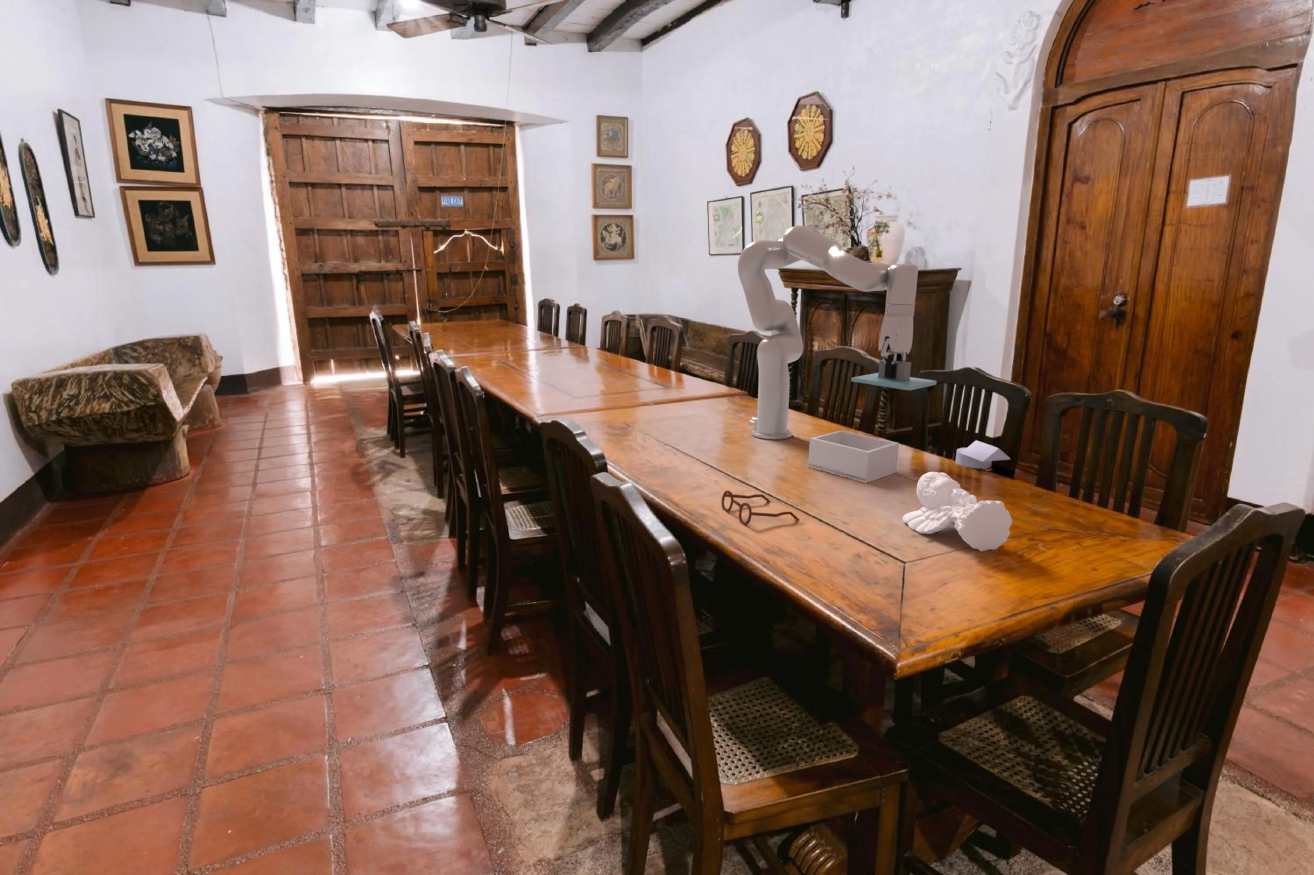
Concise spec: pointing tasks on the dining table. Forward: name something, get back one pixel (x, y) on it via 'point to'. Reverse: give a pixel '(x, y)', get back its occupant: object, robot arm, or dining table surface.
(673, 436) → the dining table surface
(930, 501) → the cherub figurine
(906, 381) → the lid
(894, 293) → the robot arm
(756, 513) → the glasses
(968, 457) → the wedge on round base
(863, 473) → the tub
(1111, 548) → the dining table surface
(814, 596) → the dining table surface
